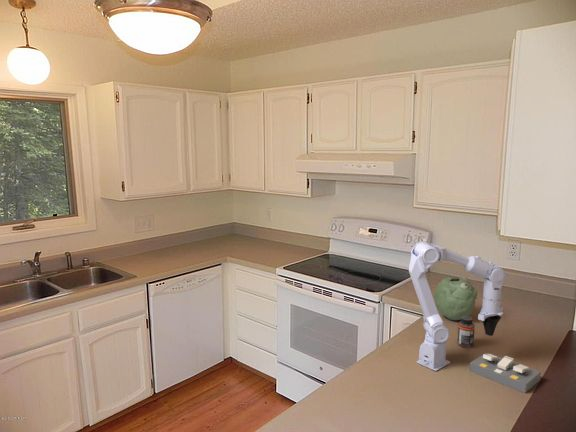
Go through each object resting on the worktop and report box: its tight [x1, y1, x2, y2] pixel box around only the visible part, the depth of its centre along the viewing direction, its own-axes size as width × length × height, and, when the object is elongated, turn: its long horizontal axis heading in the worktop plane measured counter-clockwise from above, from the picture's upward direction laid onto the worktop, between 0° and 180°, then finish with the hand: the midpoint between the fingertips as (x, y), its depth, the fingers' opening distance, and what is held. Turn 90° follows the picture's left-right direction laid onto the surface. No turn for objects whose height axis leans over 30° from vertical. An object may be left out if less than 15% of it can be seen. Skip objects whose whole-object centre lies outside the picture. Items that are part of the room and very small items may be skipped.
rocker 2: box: [497, 355, 515, 370], centre depth 141 cm, size 6×3×1 cm, turn 129°
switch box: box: [469, 351, 542, 394], centre depth 141 cm, size 12×18×5 cm, turn 39°
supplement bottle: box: [457, 315, 476, 349], centre depth 163 cm, size 6×6×11 cm
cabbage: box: [433, 276, 478, 321], centre depth 189 cm, size 16×19×20 cm
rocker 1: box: [482, 353, 499, 361], centre depth 145 cm, size 6×3×1 cm, turn 130°
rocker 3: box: [513, 363, 530, 373], centre depth 137 cm, size 6×3×1 cm, turn 130°
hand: (489, 334), depth 149 cm, fingers closed
